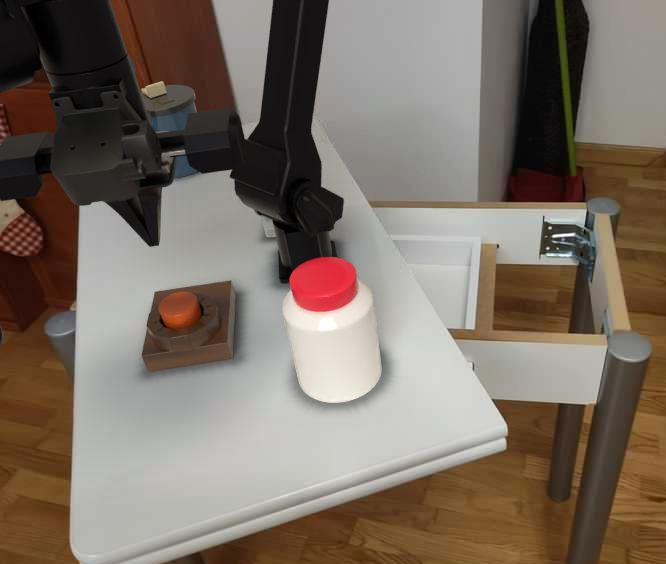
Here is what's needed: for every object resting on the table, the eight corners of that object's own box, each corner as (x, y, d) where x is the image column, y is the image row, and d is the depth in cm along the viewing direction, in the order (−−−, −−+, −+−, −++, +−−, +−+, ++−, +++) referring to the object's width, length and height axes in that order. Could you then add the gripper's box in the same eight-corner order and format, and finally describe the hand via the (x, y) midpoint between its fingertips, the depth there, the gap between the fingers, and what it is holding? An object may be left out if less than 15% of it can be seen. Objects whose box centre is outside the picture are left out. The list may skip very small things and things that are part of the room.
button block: (232, 361, 63) (222, 330, 60) (148, 374, 62) (134, 343, 60) (236, 296, 70) (227, 265, 68) (160, 307, 70) (148, 277, 67)
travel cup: (223, 163, 94) (205, 95, 88) (164, 185, 91) (141, 116, 84) (196, 144, 100) (177, 79, 93) (140, 164, 96) (116, 98, 90)
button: (200, 326, 61) (195, 312, 60) (161, 332, 61) (155, 318, 60) (203, 303, 64) (198, 289, 63) (166, 308, 64) (160, 294, 63)
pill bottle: (372, 406, 57) (359, 308, 50) (287, 399, 58) (262, 303, 51) (388, 346, 63) (378, 250, 55) (310, 341, 64) (290, 247, 57)
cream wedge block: (167, 93, 90) (163, 82, 89) (150, 98, 89) (146, 87, 88) (158, 87, 91) (155, 76, 90) (142, 92, 90) (138, 81, 89)
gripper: (-96, 124, 40) (19, 318, 50) (211, 84, 41) (262, 283, 51) (-34, 62, 48) (54, 240, 59) (220, 31, 50) (262, 210, 60)
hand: (155, 243), depth 57 cm, fingers closed
